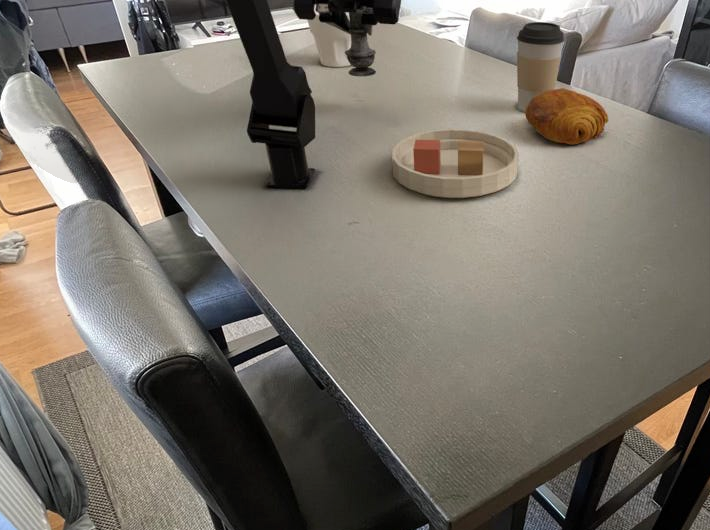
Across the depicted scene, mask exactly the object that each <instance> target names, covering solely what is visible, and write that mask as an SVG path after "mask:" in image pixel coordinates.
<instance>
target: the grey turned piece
mask: <svg viewBox="0 0 710 530" xmlns="http://www.w3.org/2000/svg"><path fill="white" fill-rule="evenodd" d="M362 12H363V11H356V13H350V12H349V19H350V28H349V31H350V32H351V48H350V49H349V50H347V51H345V54H346V55H347V59H348V61H349V63H350V64H351V65H350V66H352V67H353V68H351V69H350V70H349V71H348V74H349V76H353V77H371V76H374V75H376V74H377V71H376V70H375V69H374V68H373V67H371V66H372V65H373V64H374V62H375V57H376V56H375V55H376V54H377V51H376V50H375V49H372V48H371V47H370V45H369V41H368V34H367V32H366V31H365V29H364V28H363V26H362V25H361V18H362Z"/></svg>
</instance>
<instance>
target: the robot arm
mask: <svg viewBox="0 0 710 530" xmlns="http://www.w3.org/2000/svg"><path fill="white" fill-rule="evenodd" d="M225 3H226V5H227V7H228V10H229V12H230V13H229V14H230V15H231V16H230V17H231V18H232V21H233V23H234V25H235V29H236V31H237V33H238V36H239V39H240V42H241V44H242V46H243V49H244V52H245V54H246V57H247V59H248V62H249V65H250V67H251V70H252V74H253V75H252V79H251V83H250V88H249V96H250V99H251V107H250V112H249V117H248V123H247V126H246V133H247V136H248V138H249V140H250V142H251V143H252V144H256V143H257V144H265V150H266V154H267V159H268V164H269V168H270V172H271V175H270V176H269V178H268V179H267V181H266V183H265V186H266V188H286V189H287V188H288V189H289V188H290V189H307V188H309V186H310V184H311V181H312V180H313V178H314V176H315V174H316V172H317V171H316V169H315V168H314V167H309V165H308V160H307V154H306V146H308V145H309V144H310V143H312V141H314V139H316V104H315V100H314V98H313V97H312V93H313V91H312V88H310V85H309V81H308V77H307V73H306V71H305V70H304V68H303V66H299V65H291V64H290V63H289V62H288V59H287V57H286V54H285V51H284V48H283V45H282V42H281V39H280V36H279V33H278V30H277V26H276V24H275V20H274V17H273V15H272V12H271V8H270V5H269V1H268V0H225ZM291 5H292V10H293V12H294V14H295V16H296V17H297V19H299V20H306V21H308V20H313V19H314V18H315V17H316V13H315V11H314V7H315V5H316V9H315V10H316V12H318V13H319V21H320V22H322V23H326V24H329V25H331V26H333V27H336V28H338V29H340V30H342V31H344V32H346V33H348V34H351V32H350V31H349V28H350V21H349V19H348V17H347V15H346V13H345V12H350V13H356V11H363V12H362V18H361V25H362V26H363V28H364V29H365V31H366V32H367V36H370V37H372V36H373V26H377V25H378V24H381V25H396V24H397V23H398V22H399V19H400V13H401V5H402V0H292V4H291ZM270 126H273V127H281V128H290V129H291V128H293V129H296V130H286V129H278V128H270Z"/></svg>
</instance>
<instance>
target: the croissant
mask: <svg viewBox="0 0 710 530" xmlns="http://www.w3.org/2000/svg"><path fill="white" fill-rule="evenodd" d="M524 114H525V119H526V121H527V123H528V124H529V125H530V126H531V127H532V128H533V129H534V130H535V131H536V132H538V134H539V135H540V136H542V137H544V138H545V139H547V140H549V141H551V142H555V143H559V144H567V145H578V144H580V143H584V142H589V141H591V140H592V139H597V138H598V137H599V136H601V134H602V133H603V131H605V126H606V124H607V123H608V122H609V115H608V112H606V110H605V108H604V107H603V106H602V104H601V103H599V102H598V101H596V100H595V99H593V98H592V97H590V96H587V95H586V94H583V93H579V92H577V91H574V90H570V89H567V88H563V87H562V88H555V89H554V90H547V91H545V92H544V93H542V94H540V95H537V96H535V97H534V98H533V99H531V101H530V103H529V104H528V106H527V108H526V111H525V112H524Z"/></svg>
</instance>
